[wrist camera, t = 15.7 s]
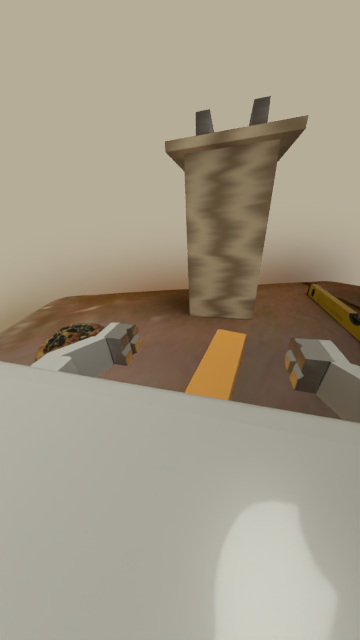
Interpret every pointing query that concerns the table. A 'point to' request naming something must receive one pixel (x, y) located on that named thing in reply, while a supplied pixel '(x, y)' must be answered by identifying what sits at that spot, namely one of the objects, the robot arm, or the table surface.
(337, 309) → the spirit level
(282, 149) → the stand
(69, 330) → the bread roll
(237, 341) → the long orange beam
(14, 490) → the robot arm
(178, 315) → the table surface
